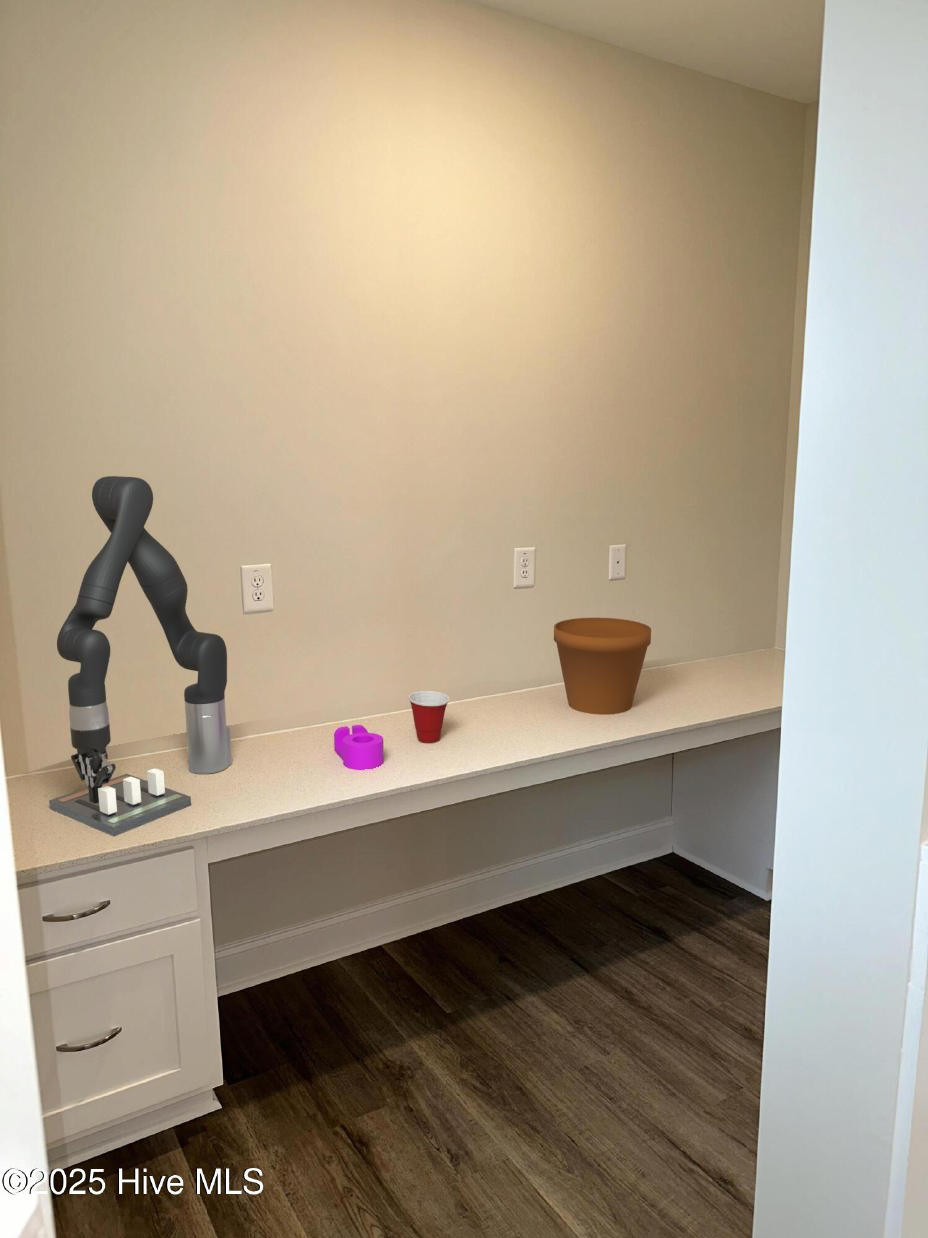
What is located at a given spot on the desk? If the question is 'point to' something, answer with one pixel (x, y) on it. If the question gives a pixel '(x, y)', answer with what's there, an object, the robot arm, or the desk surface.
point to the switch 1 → (107, 800)
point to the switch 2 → (155, 781)
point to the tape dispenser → (359, 748)
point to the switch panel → (120, 807)
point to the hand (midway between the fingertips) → (96, 801)
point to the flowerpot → (601, 662)
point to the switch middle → (132, 790)
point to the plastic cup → (428, 714)
